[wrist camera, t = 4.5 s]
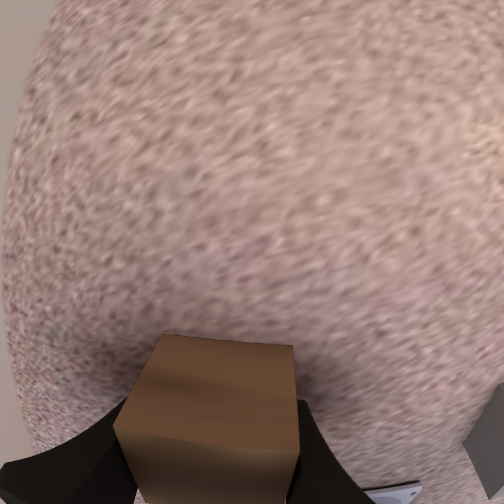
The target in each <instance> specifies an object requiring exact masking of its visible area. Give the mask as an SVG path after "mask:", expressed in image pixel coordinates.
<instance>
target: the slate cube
mask: <svg viewBox="0 0 504 504" xmlns="http://www.w3.org/2000/svg"><path fill="white" fill-rule="evenodd" d="M463 445H464V447H465V449H466V451H467V453H468V455H469V457H470V459H471V461H472V463H473V465H474V468H475V470H476V472H477V474H478V476H479V478H480V481H481V483H482V485H483V487H484V490H485V492H486V494H487V497H488V499H489V500H491V499H494V498H496V497H498V496H500V495H503V494H504V383H503V384H499V385H498V387H497V389H496V391H495V392H494V394H493V396H492V398H491V400H490V402H489V403H488V405H487V407H486V409H485V410H484V412H483V414H482V415H481V417H480V419H479V420H478V422H477V423H476V425H475V427H474V428H473V430H472V431H471V433H470V434H469V436H468V437H467V439H466V440H465V442H464V443H463Z"/></svg>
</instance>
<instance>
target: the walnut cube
mask: <svg viewBox="0 0 504 504" xmlns="http://www.w3.org/2000/svg"><path fill="white" fill-rule="evenodd" d="M113 427H114V430H115V433H116V435H117V438H118V441H119V443H120V446H121V449H122V451H123V454H124V456H125V459H126V461H127V463H128V466H129V468H130V471H131V473H132V475H133V477H134V480H135V482H136V484H137V486H138V488H139V491H140V493H141V495H142V497H143V499H144V501H145V503H149V504H284V502H285V499H286V496H287V493H288V490H289V486H290V483H291V480H292V477H293V473H294V470H295V466H296V463H297V459H298V456H299V452H300V442H299V426H298V411H297V396H296V383H295V370H294V357H293V346H292V345H273V344H258V343H245V342H233V341H222V340H211V339H202V338H193V337H184V336H176V335H168V334H162V336H161V338H160V340H159V341H158V343H157V345H156V347H155V348H154V350H153V352H152V354H151V356H150V357H149V359H148V361H147V363H146V365H145V366H144V368H143V370H142V372H141V374H140V376H139V377H138V379H137V381H136V383H135V385H134V387H133V388H132V390H131V392H130V394H129V396H128V398H127V400H126V401H125V403H124V405H123V407H122V409H121V411H120V413H119V415H118V416H117V418H116V420H115V422H114V424H113Z"/></svg>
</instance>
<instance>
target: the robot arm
mask: <svg viewBox="0 0 504 504" xmlns="http://www.w3.org/2000/svg"><path fill="white" fill-rule="evenodd" d="M128 396H129V395H128ZM128 396H127V397H126V398H125V399H124V400H123V401H122V402H121V403H120V404H118V405H117V406H116V407H115V408H114V409H113V410H111V411H110V412H109V413H108V414H107V415H105V416H104V417H103V418H102V419H100V420H99V421H98V422H96V423H95V424H94V425H92V426H91V427H90V428H88V429H87V430H85V431H84V432H82V433H81V434H79V435H77V436H76V437H74V438H72V439H71V440H69V441H67V442H65V443H63V444H61V445H59V446H57V447H55V448H53V449H50V450H48V451H45V452H43V453H40V454H37V455H34V456H32V457H28V458H24V459H21V460H16V461H12V462H7V463H5V464H4V465H3V467H2V468H1V469H0V498H1V499H2V500H3V501H4V502H5V503H6V504H134V500H135V496H136V492H137V489H138V486H137V484H136V482H135V480H134V477H133V475H132V473H131V471H130V468H129V466H128V463H127V461H126V459H125V456H124V454H123V451H122V449H121V446H120V443H119V441H118V438H117V435H116V433H115V430H114V427H113V424H114V422H115V420H116V418H117V416H118V415H119V413H120V411H121V409H122V407H123V405H124V403H125V401H126V400H127V398H128ZM297 411H298V426H299V442H300V452H299V456H298V459H297V463H296V466H295V470H294V473H293V477H292V480H291V483H290V486H289V490H288V493H287V496H286V504H409V503H410V502H411V501H412V500H413V499H414V497H415V496H416V495H417V494H418V493H419V492H420V490H421V489H422V488H423V486H422V483H413V484H408V485H403V486H397V487H391V488H385V489H378V490H370V491H363V490H362V489H361V488H360V487H359V486H358V485H357V484H356V483H355V482H354V481H353V480H352V479H351V477H350V476H349V475H348V474H347V472H346V471H345V470H344V469H343V467H342V466H341V465H340V463H339V462H338V461H337V459H336V458H335V456H334V455H333V453H332V452H331V450H330V448H329V447H328V445H327V443H326V442H325V440H324V438H323V436H322V435H321V433H320V431H319V429H318V427H317V425H316V423H315V421H314V419H313V416H312V414H311V412H310V409H309V407H308V404H307V402H306V401H305V400H297Z"/></svg>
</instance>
